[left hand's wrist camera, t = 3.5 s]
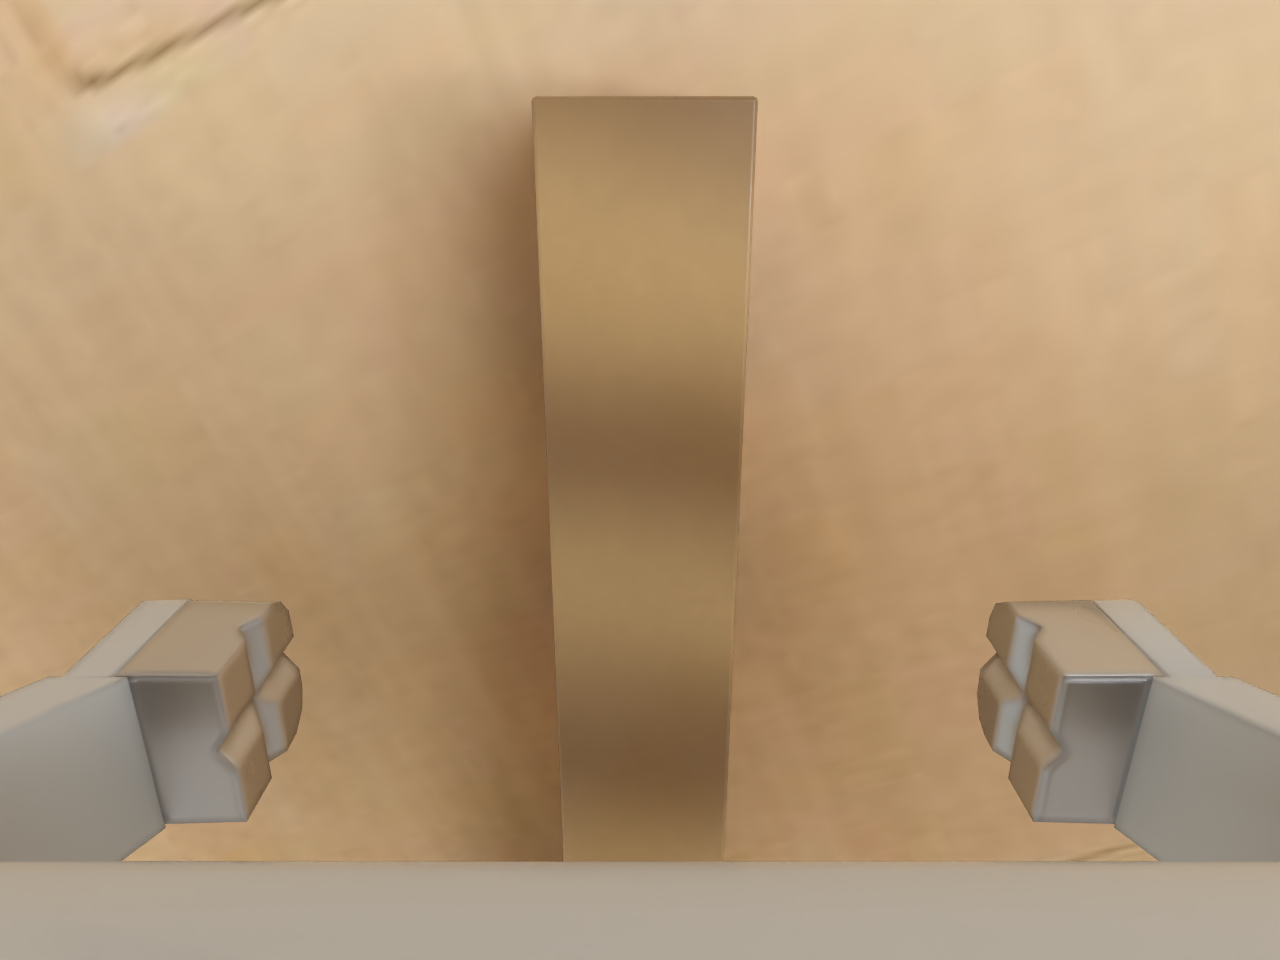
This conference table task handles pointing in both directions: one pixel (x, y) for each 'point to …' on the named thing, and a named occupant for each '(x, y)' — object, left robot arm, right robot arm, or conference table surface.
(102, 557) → the conference table surface
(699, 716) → the beam
